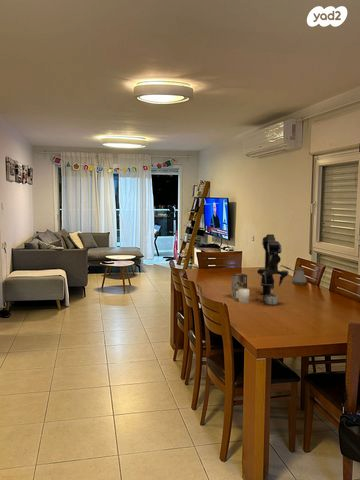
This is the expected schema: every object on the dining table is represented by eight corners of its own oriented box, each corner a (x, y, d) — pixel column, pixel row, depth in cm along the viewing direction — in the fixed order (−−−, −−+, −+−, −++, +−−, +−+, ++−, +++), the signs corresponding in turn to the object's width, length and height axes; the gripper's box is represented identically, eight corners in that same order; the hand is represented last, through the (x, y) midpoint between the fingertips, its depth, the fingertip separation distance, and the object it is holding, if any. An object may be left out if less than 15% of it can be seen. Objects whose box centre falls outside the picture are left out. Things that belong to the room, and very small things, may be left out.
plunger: (269, 296, 268) (269, 283, 268) (276, 296, 266) (276, 284, 266) (267, 297, 264) (267, 285, 264) (274, 298, 262) (274, 286, 261)
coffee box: (243, 296, 286) (243, 273, 285) (247, 298, 280) (247, 275, 278) (230, 296, 284) (231, 273, 282) (234, 299, 278) (235, 275, 276)
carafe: (264, 301, 272) (264, 293, 271) (278, 303, 267) (279, 295, 267) (261, 304, 265) (261, 295, 265) (275, 306, 261) (276, 297, 260)
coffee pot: (304, 282, 336) (305, 264, 334) (308, 285, 324) (309, 266, 323) (278, 282, 336) (278, 263, 335) (281, 285, 325) (281, 266, 323)
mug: (237, 299, 278) (237, 287, 277) (250, 300, 274) (250, 289, 273) (234, 301, 271) (234, 289, 271) (247, 303, 267) (247, 291, 267)
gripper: (255, 261, 260) (254, 286, 262) (285, 264, 252) (284, 289, 253) (260, 259, 270) (259, 283, 272) (289, 261, 262) (288, 286, 263)
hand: (272, 285), depth 265 cm, fingers open, 9 cm apart
